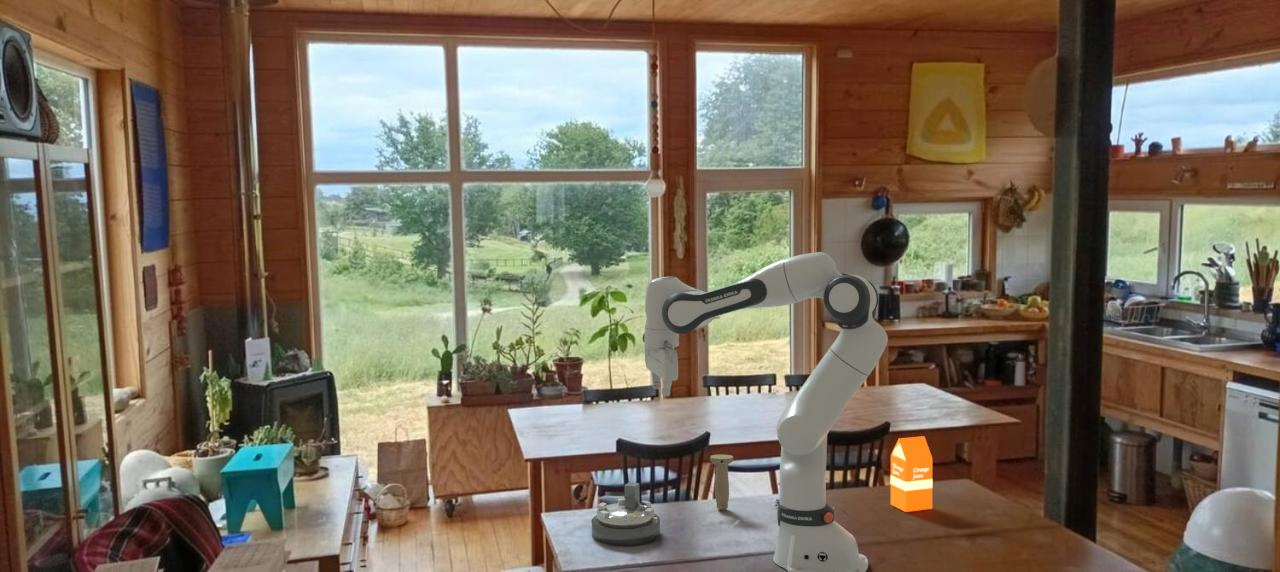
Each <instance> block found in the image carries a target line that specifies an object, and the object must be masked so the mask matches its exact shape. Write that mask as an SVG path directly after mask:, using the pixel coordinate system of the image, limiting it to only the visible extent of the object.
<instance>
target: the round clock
mask: <svg viewBox="0 0 1280 572" xmlns="http://www.w3.org/2000/svg"><path fill="white" fill-rule="evenodd" d="M640 500H641V499H640V483H638V482H628V483H627V482H626V484H624V498H623V497H622V498H618V499H617V503H616V502H615V503H610V504H607V502H601V503H599V504H597V511H596V515H597V521H598V522H599V523H600V524H602V525H604V526H607V527H612V528H636V527H641V526H645V525H648V524H650V523H651V522H653V517H654V514H655V510H654V509H655V508H653V507H652V502H651V501H648V500H641V501H640Z"/></svg>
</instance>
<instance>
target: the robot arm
mask: <svg viewBox="0 0 1280 572" xmlns="http://www.w3.org/2000/svg"><path fill="white" fill-rule="evenodd" d="M818 298H820V299H822V300H823V304H824V307H825V309H826V311H827V312H828V314H829V315H830V317H832V319H833V320H834V322H835V323H836V324H837V326H838V327H839V328H840V329H841V330H840V332H839V334H838V336H837V337H836V339H835V340H834V341H833V343H832V344H831V346H830V347H829V348H828V350H827V351H826V352H825V354H824V355H823V357H821V359H820V361H819V362H818V364H817V365H816V366H815V367H814V369H813V370H812V372H811V373H810V374H809V376H808V377H807V379H806V380H805V382H804V383H803V385H802V386H801V387H800V389H799V391H798V392H797V393H796V395H795V396H794V398H793V399H792V400H791V401H790V402H789V403H788V404H787V405H786V407H785V408H784V410H783V412H782V413H781V415H780V417H779V418H778V421H777V423H776V428H775V429H776V431H775V432H776V437H777V439H778V442H779V444H780V446H781V447H780V448H781V450H780V462H779V500H780V502H779V503H778V506H777V509H776V510H777V512H776V513H777V526H778V534H777V541H776V547H775V549H774V550H775V551H774V554H773V557H772V560H773V562H774V564H776V565H777V566H779V567H781V568H783V569H785V570H787V572H867V571H868V568H869V561H868V557H867V556H866V555H864V554H862V553H859V547H858V543H857V540H856V538H855V536H854V535H853V534H852V533H851V532H849V531H848V530H847V529H845V528H844V527H843V526H841V525H840V524H839V523H838V522H837V521H836V520H835V506H832V507H831V506H830V505H829V504H828V503H827V498H826V496H827V489H826V488H827V486H826V485H827V482H826V480H827V478H826V477H827V475H826V474H827V451H828V449H827V448H828V447H827V446H828V434H829V432H830V431H831V429H832V428H833V427H834V425H835V423H836V422H837V421H838V420H839V418H840V416H841V415H842V413H843V412H844V410H845V409H846V407H847V406H848V404H849V403H850V402H851V401H852V399H853V398H854V396H855V395H856V394H857V392H858V390H859V389H860V388H861V387H862V385H863V384H864V382H865V381H866V380H867V379H868V377H869V376H870V375H871V373H872V372H873V370H874V369H875V367H877V364H878V363H879V361H880V359H881V357H882V355H883V354H884V352H885V349H886V347H887V345H888V341H889V336H888V334H887V332H886V330H885V329H884V327H883V326H882V325H881V324H880V323H878V322H877V321H876V320H875V318H873V314H874V313H875V311H876V309H877V308H878V304H879V294H878V291H877V288H876V287H875V286H874V285H873V283H872V282H871V281H869V280H868V279H866V278H865V277H862V276H860V275H856V274H847V273H840V271H839V270H838V267H837V264H836V262H835V260H834V259H833V258H832V257H831V256H830V255H829V254H828V253H826V252H823V251H822V252H821V251H816V252H810V253H802V254H798V255H795V256H790V257H786V258H783V259H780V260H777V261H774V262H772V263H770V264H767V265H766V266H763V267H762V268H760V269H758V270H757V271H755V272H754V273H751V274H750V275H748V276H746V277H745V278H743V279H741V280H739V281H737V282H734V283H732V284H729V285H727V286H723V287H720V288H717V289H714V290H710V291H707V292H706V291H704V290H700V289H697V288H695V287H692V286H691V285H690V286H689V285H688V284H686V283H685V282H682V281H681V279H679V278H678V277H676V276H673V275H669V276H663V277H657V278H653V279H651V280H650V281H649V282H648V283H647V286H646V292H645V301H644V312H645V317H646V322H645V325H644V333H642V342H643V343H644V346H643V347H644V348H643V349H644V362H645V367H646V370H649V371H650V372H651V373H650V374H651V380H652V388H653V389H654V390H660V389H661V395H662V396H664V397H669V396H670V395H671V388H672V384H673V382H674V381H677V380H678V379H679V378H678V377H679V357H678V356H679V355H678V352H677V350H676V349H675V348H677V347H680V335H685V334H689V333H690V332H693V331H694V330H698V329H701V328H703V327H705V326H707V325H708V324H710V323H711V322H712V321H713V320H714V318H716V317H719V316H722V315H725V314H728V313H732V312H736V311H739V310H740V311H741V310H744V309H756V308H772V307H773V308H774V307H781V306H789V305H793V304H796V303H800V302H804V301H806V300H810V299H818ZM661 379H662V383H661ZM661 384H662V385H661ZM661 386H662V387H661Z"/></svg>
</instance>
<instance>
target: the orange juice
mask: <svg viewBox="0 0 1280 572" xmlns="http://www.w3.org/2000/svg"><path fill="white" fill-rule="evenodd" d="M897 439H898V440H897V442H896V444H895V445H894V447H893V450H892V451H891V454H890V505H891V506H893V507H896V508H897V509H898V510H901V511H903V512H905V513H908V512H909V513H910V512H916V511H923V510H932V509H933V456H932V454H931V451H930V447H929V445H928V442H927V439H926V436H924V435H923V436H922V435H921V436H911V437H910V436H909V437H902V438H901V437H899V438H897Z"/></svg>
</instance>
